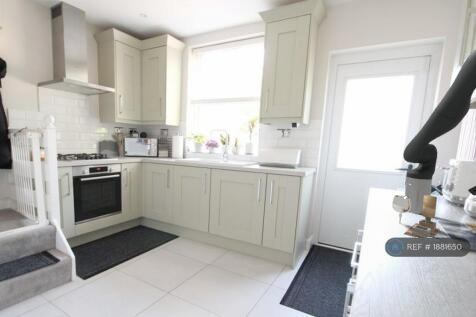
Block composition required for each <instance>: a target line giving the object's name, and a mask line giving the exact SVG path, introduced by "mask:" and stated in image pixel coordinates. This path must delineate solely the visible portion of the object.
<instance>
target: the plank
mask: <svg viewBox="0 0 476 317" xmlns="http://www.w3.org/2000/svg"><path fill="white" fill-rule="evenodd" d="M440 229H441V228H438V227H437V222H435V221H432V220H431V224H430V223H426V222H425V219H424V218H423V219H420V220H419V221H418V223H417V222H415V223H414V224H413V225H412V226H410V228H409V229H407V230H406V231H405V232H404V233H403V235H404V236H405V235H406V236H410V237H413V238H416V237H418V238H417V239H419V238H427V237H433V238H434V237H435V236H436V235H437V233H439V231H440Z"/></svg>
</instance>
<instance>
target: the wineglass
mask: <svg viewBox="0 0 476 317" xmlns="http://www.w3.org/2000/svg"><path fill="white" fill-rule="evenodd" d="M391 206H392V209H393V211H395V212H397V213H399V214H398V219H399V221H398V224H402V223H401V222H402V221H401V220H402V217H403V214H406V213H410V212H409V211H410V208H411V202H410V198H409V197H406V196H405V195H399V194H397V195H395V194H394V196H393V198H392V203H391Z"/></svg>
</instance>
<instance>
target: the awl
mask: <svg viewBox="0 0 476 317" xmlns="http://www.w3.org/2000/svg"><path fill="white" fill-rule="evenodd" d="M437 201H438V197H437V196H434V195H431V196H429V195H424V199H423V209H422V215H421V216H422V217H423V218H424V220H425V222H426V223H430V224H431V221H432V219H435V218H436V212H437V211H436V210H437Z"/></svg>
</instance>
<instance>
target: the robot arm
mask: <svg viewBox="0 0 476 317" xmlns="http://www.w3.org/2000/svg"><path fill="white" fill-rule="evenodd" d="M475 90H476V49H475V50H473V51H472V52H471V53H470V54H469V55H468V56H467V57H466V59H465V60H464V62H463V64H462V66H461V67H460V69H459V71H458V73H457V75H456V77H455V79H454V80H453V83H452V84H451V86H450V87H449V89H448V90H447V91H446V93H445V95H444V96H443V98H441V101H440V102H439V103H438V104H437V105H436V107H435V108H434V110H433V112H432V113H431V114H430V116H429V117H428V118H427V120H426V122H425V123H424V124H423V126H422V127H421V128H420V130H419V131H418V132H417V133H416V135H415V136H414V137H413V138H412V139H411V140H410V141H409V143H408V144H406V147H405V148H404V150H403V155H402V156H403V159H404V161H405V162H407V163H411V164H418V166H417V167H415V168H413V169H410V170H407V172H406V176H405V190H404V196H406V197H409V198H410V202H411V208H410V211H409V212H408V213H411V214H415V215H420V216H422V209H423V199H424V195H429V196H432V184H433V177H434V174H435V172H436V166H437V160H438V150H437V147H436V146H435V144H432V143H431V142H433V141H434V140H436V139H438V138H440V137H442V136H444V135H446V134H447V133H449V132H450V131H452V130H454V129H455V128H456V127H457V126H458V125H459V124H460V123H461V122H462V121H463V120H464V118H465V117H466V116H467V114H468V113H469V110H470V108H471V103H472V96H473V94H474V92H475ZM467 191H468V192H469V193H470V194H471V196H476V185H474V186H472V187H470V188H468V190H467Z"/></svg>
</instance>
